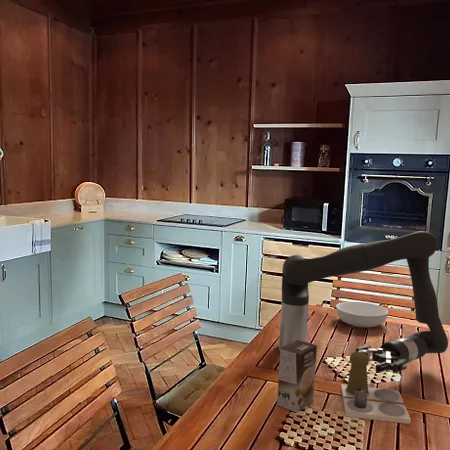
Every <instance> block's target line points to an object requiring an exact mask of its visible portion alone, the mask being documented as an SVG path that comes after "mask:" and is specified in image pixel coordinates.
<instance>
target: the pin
mask: <svg viewBox="0 0 450 450" xmlns="http://www.w3.org/2000/svg"><path fill="white" fill-rule="evenodd" d="M367 394H368V392H367V391H366V390H365V389H361V388H358V389H355V398H354V406H355V407H357V408H362V409H363V408H366V407H367Z"/></svg>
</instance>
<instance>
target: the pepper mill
mask: <svg viewBox="0 0 450 450" xmlns="http://www.w3.org/2000/svg"><path fill="white" fill-rule="evenodd" d="M349 362H350V365H351V366H350V370H349V375H348V381H347V384H346V385H347V389H346V390H347V392H349V393H350V394H353V395H355V389H358V388H361V389H365V390H366V391H367V392H368V387H369V383H368V369H367V366H368V365H369V362H370V361H369V357H368V356H367V355H366V354H365V353H362V352H356V351H355V352H352V353H350V355H349Z"/></svg>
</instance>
